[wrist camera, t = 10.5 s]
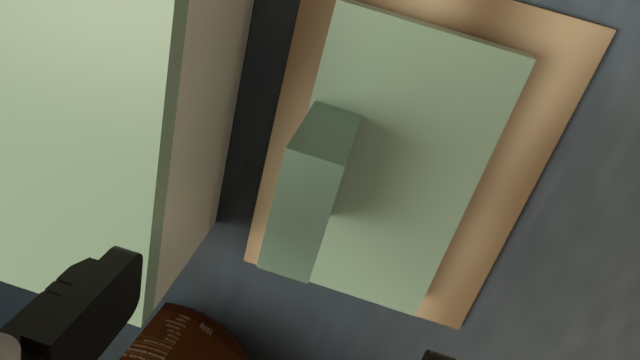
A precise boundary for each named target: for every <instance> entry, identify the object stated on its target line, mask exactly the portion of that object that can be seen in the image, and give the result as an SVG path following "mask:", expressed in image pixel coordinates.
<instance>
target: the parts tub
mask: <svg viewBox="0 0 640 360" xmlns="http://www.w3.org/2000/svg"><path fill="white" fill-rule="evenodd" d="M253 6H254V0H0V281H2V282H5V283H8V284H11V285H14V286H17V287H20V288H24V289H27V290H30V291H33V292H36V293H39V294H40V293H41V292H44V291H45V288H46V287H48V286H49V285H50V284H51V283H52V282H53V281H56V278H58V277H59V276H60V275H61V274H62V273H63V272H64V271H65V270H66V269H68V268H69V267H70V266H71V265H74V264H76V263H78V262H80V261H82V260H85V259H87V258H89V257H90V258H93V259H96V260H99V259H100V258H101V257H102V256H103V255H104V254H105V253H106V252H107V251H108V250H109V249H110V248H112V247H113V246H119V247H122V248H125V249H128V250H131V251H134V252H137V253H140V254H142V256H143V268H142V280H141V292H140V299H139V303H138V305H137V308H136V310H135V312H134V314H133V315H132V317H131V318H130V320H129V321H128V322H127V323H129V324H132V325H135V326H138V327H142V326H143V325H144V323H145V322H146V320H147V319H148V317H149V316H150V315H151V313H152V312H153V310H154V309H155V308H156V306H157V305H158V303H159V302H160V300H161V299H162V298H163V296H164V295H165V293H166V292H167V291H168V289H169V288H170V286H171V285H172V283H173V282H174V281H175V279H176V278H177V276H178V275H179V274H180V272H181V271H182V269H183V268H184V267H185V265H186V264H187V262H188V261H189V259H190V258H191V257H192V255H193V254H194V252H195V251H196V250H197V248H198V247H199V245H200V244H201V242H202V241H203V240H204V238H205V237H206V235H207V234H208V233H209V231H210V230H211V228H212V227H213V225H214V224H215V222H216V216H217V210H218V205H219V199H220V193H221V187H222V182H223V176H224V170H225V165H226V159H227V153H228V148H229V142H230V136H231V131H232V125H233V119H234V114H235V108H236V102H237V97H238V91H239V85H240V80H241V74H242V68H243V63H244V57H245V51H246V46H247V40H248V34H249V29H250V23H251V17H252V11H253Z"/></svg>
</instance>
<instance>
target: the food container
mask: <svg viewBox="0 0 640 360" xmlns="http://www.w3.org/2000/svg"><path fill="white" fill-rule="evenodd" d="M119 360H248V359H247V356H246V354H245V352H244V350H243V348H242V347H241V345H240V344H239V342H238V341H237V340H236V339H235V338H234V337H233V335H232V334H231V333H229V332H228V331H227V330H226V329H225V328H224V327H223V326H221V325H220V324H219V323H217V322H216V321H214V320H213V319H211V318H209V317H208V316H206V315H204V314H202V313H200V312H197V311H195V310H193V309H190V308H187V307H184V306H180V305H176V304H170V303H165V304H164V305H163V306H162V308H161V309H160V310H159V311H158V313H157V314H156V315H155V316H154V317H153V319H152V320H151V321H150V322H149V324H148V325H147V326H146V327H145V328H144V330H143V331H142V332H141V333H140V335H139V336H138V337H137V338H136V340H135V341H134V342H133V343H132V344H131V346H130V347H129V348H128V349H127V351H126V352H125V353H124V354H123V356H122V357H121V358H120V359H119Z"/></svg>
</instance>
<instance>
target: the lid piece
mask: <svg viewBox="0 0 640 360" xmlns="http://www.w3.org/2000/svg"><path fill="white" fill-rule="evenodd" d="M535 62H536V59H535V58H534V57H533V55H532V54H530V53H527V52H524V51H520V50H517V49H514V48H510V47H507V46H504V45H500V44H497V43H494V42H490V41H487V40H484V39H481V38H477V37H474V36H471V35H467V34H464V33H461V32H457V31H454V30H451V29H448V28H444V27H441V26H438V25H434V24H431V23H428V22H424V21H421V20H418V19H414V18H411V17H408V16H405V15H401V14H398V13H395V12H391V11H388V10H385V9H381V8H378V7H375V6H372V5H368V4H365V3H362V2H358V1H355V0H336V4H335V7H334V11H333V15H332V19H331V23H330V27H329V30H328V34H327V38H326V42H325V46H324V50H323V54H322V57H321V61H320V65H319V69H318V73H317V77H316V80H315V84H314V88H313V92H312V96H311V100H310V104H309V107H308V111H307V115H306V116H305V118H304V119H303V121H302V123H301V124H300V126H299V127H298V129H297V131H296V132H295V134H294V135H293V137H292V138H291V140H290V142H289V143H288V145H287V146H286V148H285V152H284V156H283V160H282V165H281V169H280V173H279V177H278V181H277V185H276V189H275V193H274V197H273V201H272V205H271V209H270V213H269V217H268V221H267V225H266V229H265V233H264V237H263V241H262V246H261V250H260V254H259V258H258V262H257V266H256V267H257V268H261V269H264V270H267V271H270V272H273V273H276V274H279V275H282V276H285V277H288V278H291V279H294V280H297V281H300V282H303V283H306V284H308V283H309V282H312V283H315V284H318V285H321V286H324V287H327V288H330V289H333V290H336V291H339V292H343V293H346V294H349V295H352V296H355V297H358V298H361V299H364V300H367V301H370V302H373V303H376V304H379V305H382V306H385V307H388V308H391V309H394V310H397V311H400V312H403V313H406V314H409V315H412V316H416V314H417V311H418V309H419V307H420V305H421V303H422V301H423V299H424V297H425V294H426V292H427V290H428V288H429V286H430V284H431V282H432V280H433V278H434V275H435V273H436V271H437V269H438V267H439V265H440V263H441V261H442V258H443V256H444V254H445V252H446V250H447V248H448V246H449V244H450V242H451V239H452V237H453V235H454V233H455V231H456V229H457V227H458V225H459V222H460V220H461V218H462V216H463V214H464V212H465V210H466V208H467V206H468V203H469V201H470V199H471V197H472V195H473V193H474V191H475V189H476V186H477V184H478V182H479V180H480V178H481V176H482V174H483V172H484V170H485V167H486V165H487V163H488V161H489V159H490V157H491V155H492V153H493V150H494V148H495V146H496V144H497V142H498V140H499V138H500V136H501V134H502V131H503V129H504V127H505V125H506V123H507V121H508V119H509V117H510V114H511V112H512V110H513V108H514V106H515V104H516V102H517V100H518V98H519V95H520V93H521V91H522V89H523V87H524V85H525V83H526V81H527V78H528V76H529V74H530V72H531V70H532V68H533V66H534V64H535Z"/></svg>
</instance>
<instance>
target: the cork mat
mask: <svg viewBox="0 0 640 360" xmlns="http://www.w3.org/2000/svg"><path fill="white" fill-rule="evenodd" d="M355 1H358V2H362V3H365V4H368V5H372V6H375V7H378V8H381V9H385V10H388V11H391V12H395V13H398V14H401V15H405V16H408V17H411V18H414V19H418V20H421V21H424V22H428V23H431V24H434V25H438V26H441V27H444V28H448V29H451V30H454V31H457V32H461V33H464V34H467V35H471V36H474V37H477V38H481V39H484V40H487V41H490V42H494V43H497V44H500V45H504V46H507V47H510V48H514V49H517V50H520V51H524V52H527V53H530V54H532V55H533V57H534V58H535V59H536V62H535V64H534V66H533V68H532V70H531V72H530V74H529V76H528V78H527V81H526V83H525V85H524V87H523V89H522V91H521V93H520V95H519V98H518V100H517V102H516V104H515V106H514V108H513V110H512V112H511V114H510V117H509V119H508V121H507V123H506V125H505V127H504V129H503V131H502V134H501V136H500V138H499V140H498V142H497V144H496V146H495V148H494V150H493V153H492V155H491V157H490V159H489V161H488V163H487V165H486V167H485V170H484V172H483V174H482V176H481V178H480V180H479V182H478V184H477V186H476V189H475V191H474V193H473V195H472V197H471V199H470V201H469V203H468V206H467V208H466V210H465V212H464V214H463V216H462V218H461V220H460V222H459V225H458V227H457V229H456V231H455V233H454V235H453V237H452V239H451V242H450V244H449V246H448V248H447V250H446V252H445V254H444V256H443V258H442V261H441V263H440V265H439V267H438V269H437V271H436V273H435V275H434V278H433V280H432V282H431V284H430V286H429V288H428V290H427V292H426V294H425V297H424V299H423V301H422V303H421V305H420V307H419V309H418V311H417V314H416V316H417V317H420V318H423V319H426V320H430V321H433V322H436V323H439V324H442V325H445V326H448V327H451V328H454V329H457V330H459V329H460V327H461V325H462V323H463V321H464V319H465V317H466V315H467V313H468V312H469V310H470V308H471V306H472V304H473V302H474V300H475V298H476V296H477V294H478V293H479V291H480V289H481V287H482V285H483V283H484V281H485V279H486V277H487V275H488V274H489V272H490V270H491V268H492V266H493V264H494V262H495V260H496V258H497V256H498V255H499V253H500V251H501V249H502V247H503V245H504V243H505V241H506V239H507V237H508V236H509V234H510V232H511V230H512V228H513V226H514V224H515V222H516V220H517V218H518V217H519V215H520V213H521V211H522V209H523V207H524V205H525V203H526V201H527V199H528V198H529V196H530V194H531V192H532V190H533V188H534V186H535V184H536V182H537V180H538V179H539V177H540V175H541V173H542V171H543V169H544V167H545V165H546V163H547V161H548V160H549V158H550V156H551V154H552V152H553V150H554V148H555V146H556V144H557V142H558V141H559V139H560V137H561V135H562V133H563V131H564V129H565V127H566V125H567V123H568V122H569V120H570V118H571V116H572V114H573V112H574V110H575V108H576V106H577V104H578V103H579V101H580V99H581V97H582V95H583V93H584V91H585V89H586V87H587V85H588V84H589V82H590V80H591V78H592V76H593V74H594V72H595V70H596V68H597V66H598V65H599V63H600V61H601V59H602V57H603V55H604V53H605V51H606V49H607V47H608V46H609V44H610V42H611V40H612V38H613V36H614V34H615V32H616V30H615V29H613V28H609V27H606V26H602V25H599V24H596V23H592V22H589V21H585V20H582V19H578V18H575V17H571V16H568V15H564V14H561V13H557V12H554V11H551V10H547V9H544V8H540V7H537V6H533V5H530V4H526V3H523V2H519V1H516V0H355ZM335 4H336V0H300V5H299V10H298V14H297V19H296V23H295V28H294V32H293V37H292V42H291V46H290V51H289V55H288V60H287V64H286V69H285V74H284V78H283V83H282V87H281V92H280V96H279V101H278V106H277V110H276V115H275V119H274V124H273V128H272V133H271V138H270V142H269V147H268V151H267V156H266V160H265V165H264V170H263V174H262V179H261V183H260V188H259V192H258V197H257V202H256V206H255V211H254V215H253V220H252V224H251V229H250V233H249V238H248V243H247V247H246V252H245V256H244V261H247V262H250V263H253V264H256V265H257V262H258V258H259V254H260V250H261V246H262V241H263V237H264V233H265V229H266V225H267V221H268V217H269V213H270V209H271V205H272V201H273V197H274V193H275V189H276V185H277V181H278V177H279V173H280V169H281V165H282V160H283V156H284V152H285V148H286V146H287V145H288V143H289V142H290V140H291V138H292V137H293V135H294V134H295V132H296V131H297V129H298V127H299V126H300V124H301V123H302V121H303V119H304V118H305V116H306V115H307V111H308V107H309V104H310V100H311V96H312V92H313V88H314V84H315V80H316V77H317V73H318V69H319V65H320V61H321V57H322V54H323V50H324V46H325V42H326V38H327V34H328V30H329V27H330V23H331V19H332V15H333V11H334V7H335Z"/></svg>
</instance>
